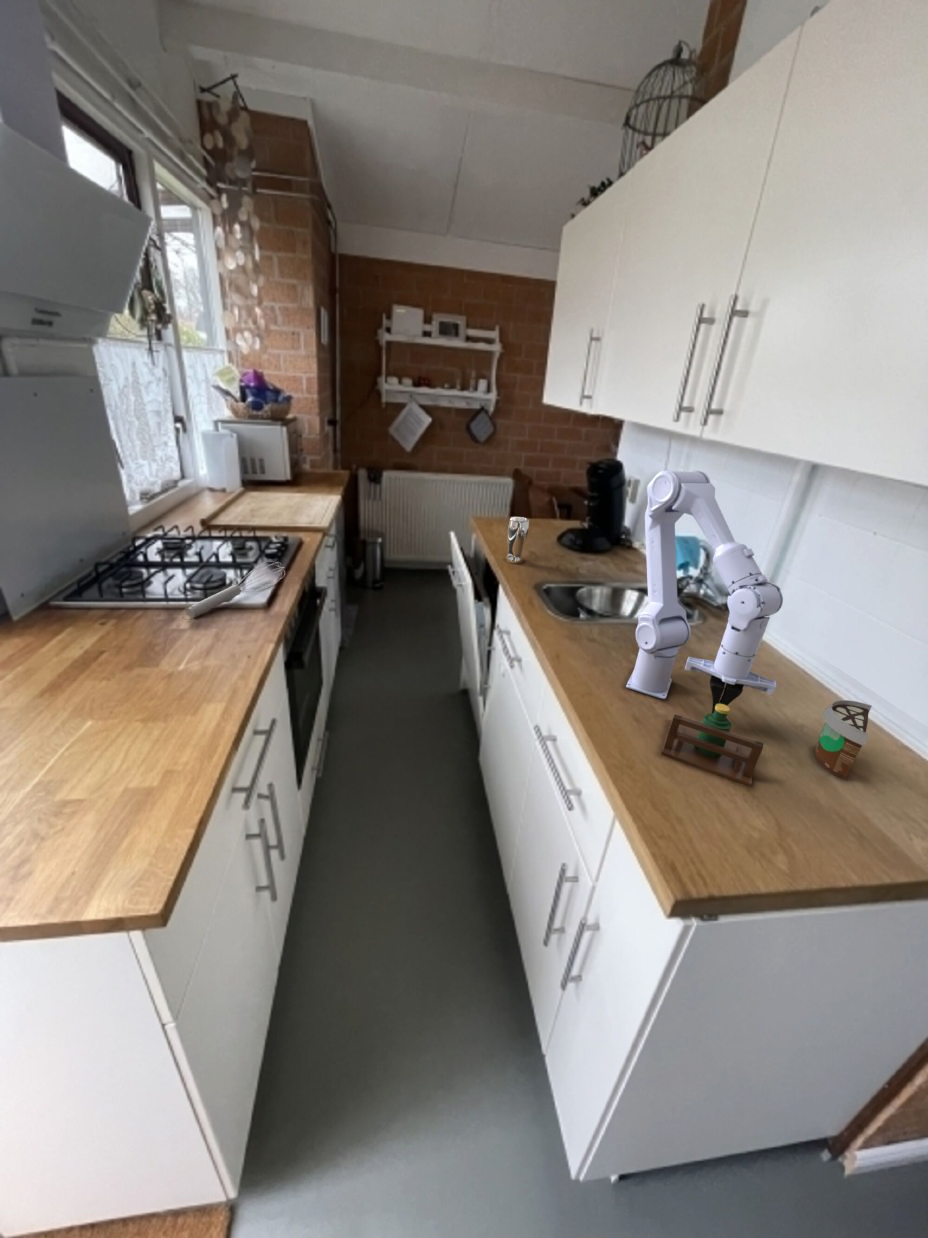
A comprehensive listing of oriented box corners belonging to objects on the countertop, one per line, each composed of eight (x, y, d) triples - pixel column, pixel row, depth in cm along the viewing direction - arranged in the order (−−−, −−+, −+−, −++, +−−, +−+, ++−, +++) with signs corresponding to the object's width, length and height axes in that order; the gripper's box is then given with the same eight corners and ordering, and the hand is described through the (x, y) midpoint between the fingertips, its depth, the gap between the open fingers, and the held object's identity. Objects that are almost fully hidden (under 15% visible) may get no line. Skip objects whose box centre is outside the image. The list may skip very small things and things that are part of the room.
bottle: (695, 738, 92) (709, 697, 88) (722, 747, 90) (737, 705, 86) (693, 751, 88) (707, 709, 84) (720, 761, 86) (736, 718, 83)
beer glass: (503, 562, 177) (508, 519, 171) (504, 556, 184) (510, 515, 177) (523, 565, 176) (529, 522, 170) (524, 559, 183) (530, 517, 177)
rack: (669, 722, 97) (679, 691, 94) (751, 749, 91) (764, 717, 88) (660, 754, 88) (671, 720, 85) (750, 786, 82) (764, 752, 79)
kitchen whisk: (172, 618, 118) (168, 593, 115) (273, 577, 147) (271, 556, 144) (193, 624, 116) (189, 599, 113) (290, 581, 145) (289, 560, 142)
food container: (811, 735, 97) (831, 690, 93) (849, 750, 93) (872, 704, 89) (801, 766, 88) (823, 718, 84) (843, 784, 85) (868, 735, 80)
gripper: (691, 645, 89) (671, 710, 94) (786, 671, 83) (758, 739, 88) (696, 631, 94) (677, 693, 100) (784, 654, 89) (758, 719, 94)
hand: (715, 713), depth 95 cm, fingers closed
